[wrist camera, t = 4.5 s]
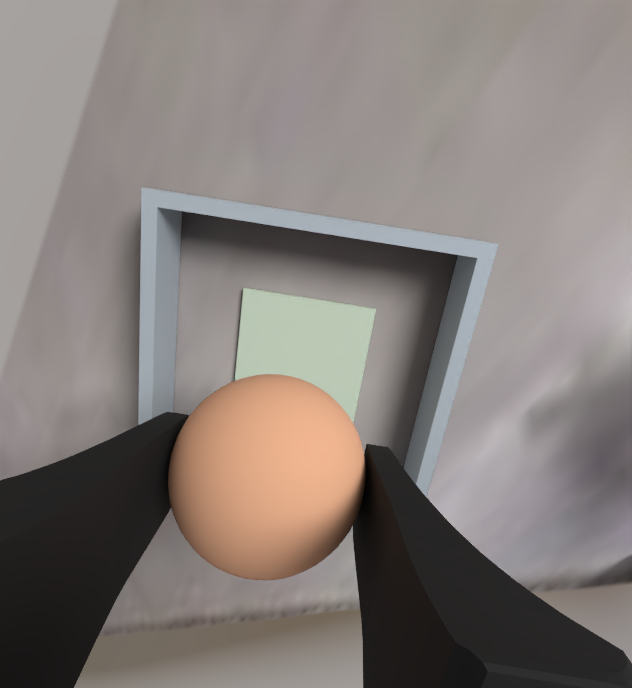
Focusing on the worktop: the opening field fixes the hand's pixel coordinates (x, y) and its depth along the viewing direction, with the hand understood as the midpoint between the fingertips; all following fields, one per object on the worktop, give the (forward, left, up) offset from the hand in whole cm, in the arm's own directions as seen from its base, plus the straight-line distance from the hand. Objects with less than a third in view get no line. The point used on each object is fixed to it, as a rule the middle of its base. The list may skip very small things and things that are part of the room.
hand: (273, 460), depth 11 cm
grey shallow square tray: (0, 0, -8) cm, 8 cm away
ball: (0, 0, -2) cm, 2 cm away
